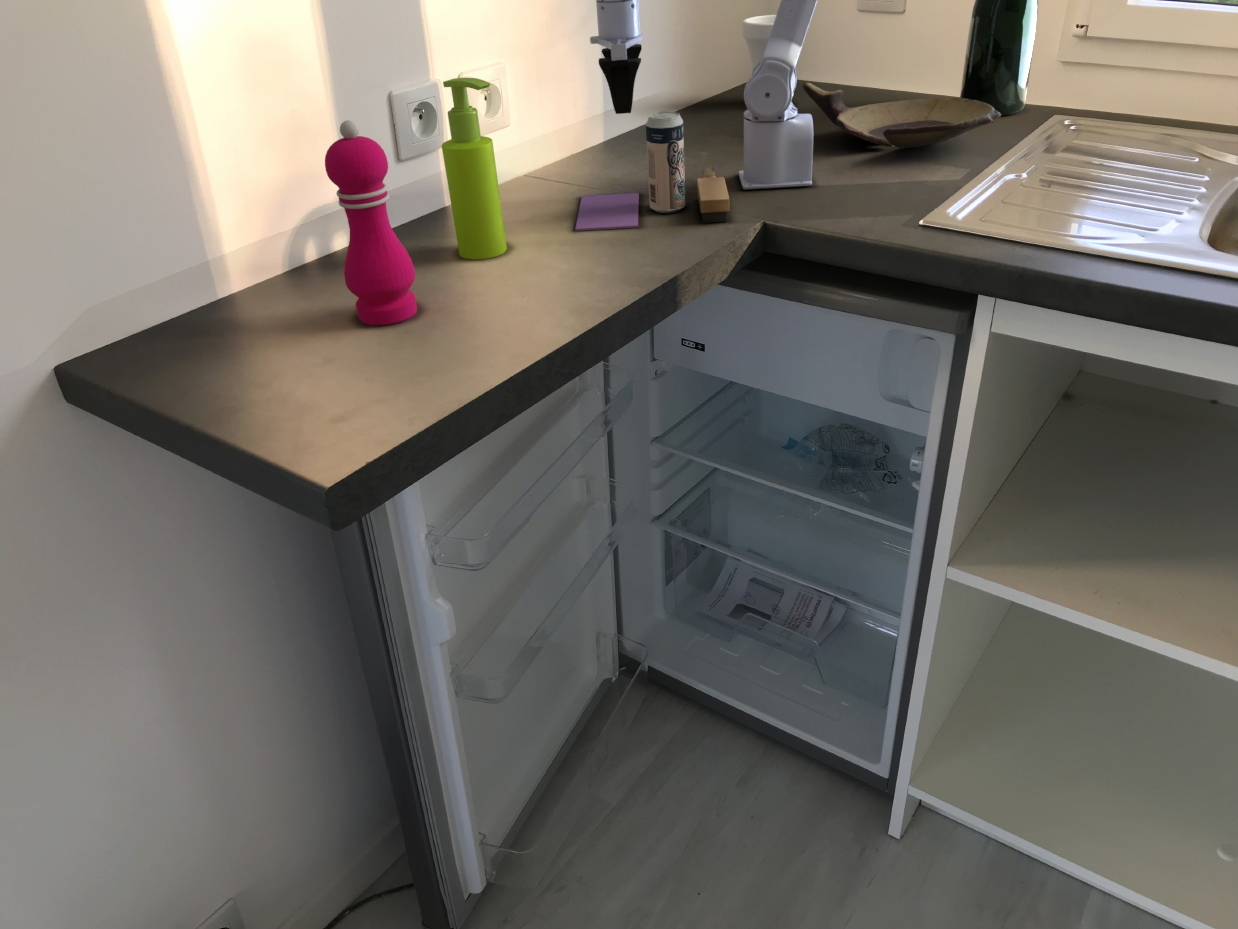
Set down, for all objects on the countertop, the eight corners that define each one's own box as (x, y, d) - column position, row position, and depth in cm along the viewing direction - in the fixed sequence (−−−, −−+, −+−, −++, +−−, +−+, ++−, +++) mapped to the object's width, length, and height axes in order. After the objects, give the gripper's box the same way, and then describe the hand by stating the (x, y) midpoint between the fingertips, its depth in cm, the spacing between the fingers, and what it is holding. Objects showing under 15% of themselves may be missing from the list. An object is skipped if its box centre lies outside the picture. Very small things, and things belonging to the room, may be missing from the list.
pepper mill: (359, 304, 103) (316, 115, 93) (425, 298, 104) (389, 109, 93) (349, 331, 97) (301, 132, 87) (418, 324, 98) (380, 125, 87)
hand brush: (721, 186, 132) (721, 163, 130) (729, 222, 119) (729, 198, 117) (695, 187, 132) (695, 165, 131) (701, 223, 119) (700, 199, 117)
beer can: (682, 214, 122) (680, 119, 116) (646, 214, 123) (642, 119, 117) (687, 203, 126) (685, 110, 120) (652, 203, 127) (648, 111, 121)
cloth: (638, 194, 131) (638, 192, 131) (638, 227, 119) (637, 225, 119) (581, 198, 132) (581, 195, 131) (575, 230, 120) (575, 228, 120)
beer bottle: (1011, 119, 153) (1047, -119, 135) (948, 113, 158) (975, -116, 141) (1033, 105, 159) (1070, -123, 142) (972, 101, 165) (1000, -120, 147)
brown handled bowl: (919, 173, 131) (925, 116, 127) (780, 136, 153) (781, 86, 149) (1027, 143, 140) (1036, 89, 136) (881, 112, 162) (885, 65, 158)
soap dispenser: (493, 263, 112) (468, 85, 101) (449, 255, 115) (420, 82, 104) (523, 247, 116) (501, 74, 105) (479, 240, 119) (454, 72, 108)
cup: (760, 94, 181) (761, 13, 173) (813, 98, 175) (816, 14, 168) (731, 107, 173) (731, 23, 166) (785, 111, 168) (788, 24, 160)
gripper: (590, -5, 130) (597, 97, 138) (584, 8, 118) (592, 120, 126) (640, -9, 130) (645, 94, 137) (640, 4, 118) (645, 117, 125)
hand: (623, 106), depth 131 cm, fingers open, 7 cm apart
